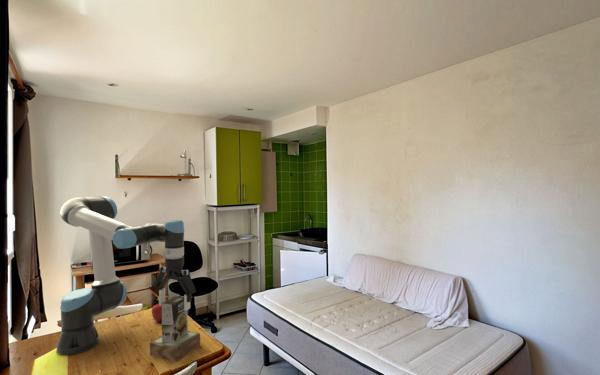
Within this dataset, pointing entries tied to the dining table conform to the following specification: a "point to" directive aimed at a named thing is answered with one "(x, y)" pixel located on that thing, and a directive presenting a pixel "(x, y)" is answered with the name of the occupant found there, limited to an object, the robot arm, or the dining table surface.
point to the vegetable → (157, 312)
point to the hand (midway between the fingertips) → (174, 306)
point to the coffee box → (174, 320)
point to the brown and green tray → (175, 347)
